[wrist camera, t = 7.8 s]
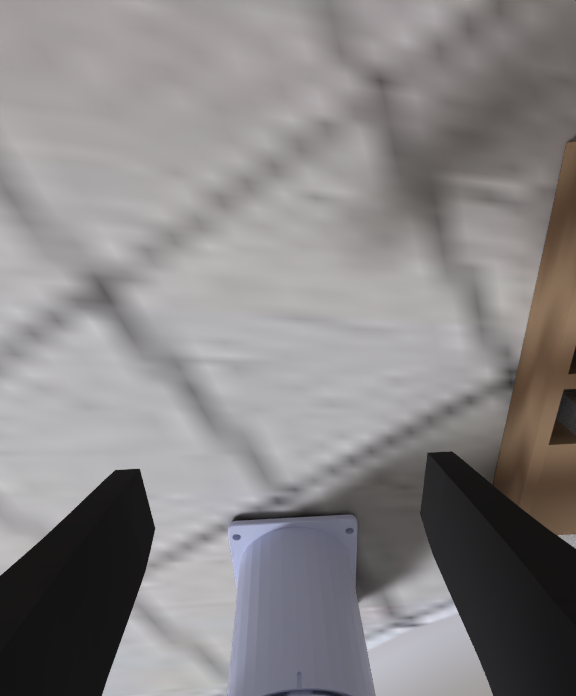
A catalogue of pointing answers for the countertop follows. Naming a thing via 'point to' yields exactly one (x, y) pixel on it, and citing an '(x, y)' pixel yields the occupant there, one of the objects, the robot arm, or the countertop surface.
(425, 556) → the countertop surface
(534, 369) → the rail
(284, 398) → the countertop surface
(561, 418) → the brushed metal block
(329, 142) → the countertop surface
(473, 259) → the countertop surface
